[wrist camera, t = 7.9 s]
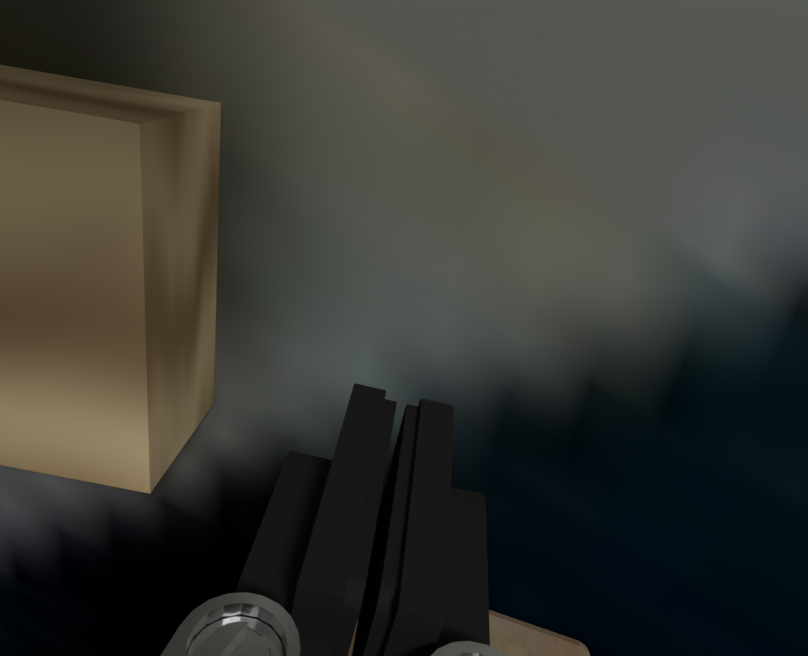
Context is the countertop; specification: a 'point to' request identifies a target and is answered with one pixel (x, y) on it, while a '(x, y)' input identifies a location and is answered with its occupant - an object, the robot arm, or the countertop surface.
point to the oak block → (105, 276)
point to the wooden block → (525, 639)
